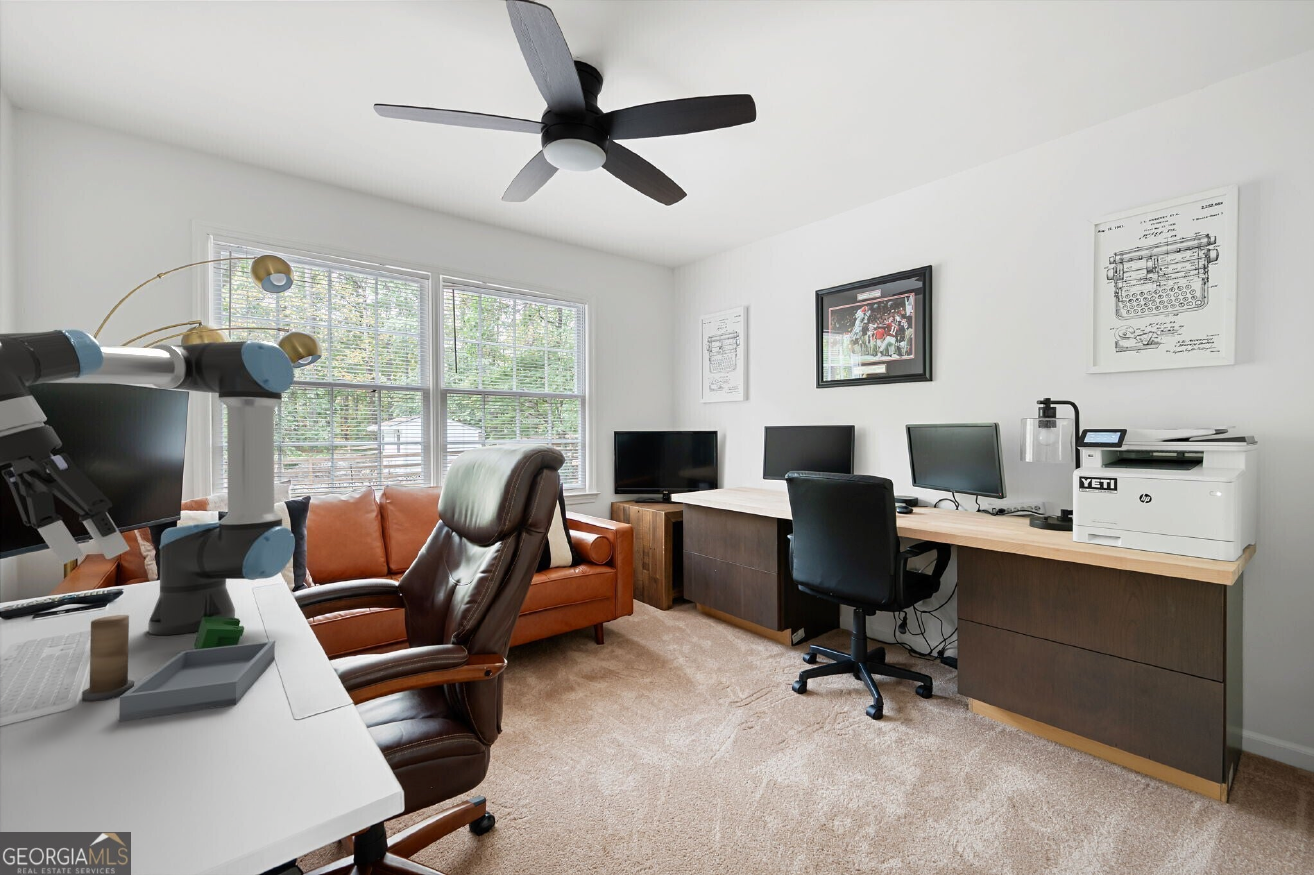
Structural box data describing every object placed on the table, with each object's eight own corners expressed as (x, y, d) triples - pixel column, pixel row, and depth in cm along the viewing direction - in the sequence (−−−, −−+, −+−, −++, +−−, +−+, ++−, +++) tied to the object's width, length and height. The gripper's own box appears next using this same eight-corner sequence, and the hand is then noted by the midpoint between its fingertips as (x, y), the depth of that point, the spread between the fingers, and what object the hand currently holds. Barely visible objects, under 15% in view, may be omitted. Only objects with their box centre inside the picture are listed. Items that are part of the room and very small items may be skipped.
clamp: (229, 675, 107) (245, 635, 106) (190, 676, 103) (206, 634, 102) (230, 636, 116) (245, 599, 115) (195, 636, 112) (210, 597, 111)
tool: (95, 689, 90) (97, 615, 91) (141, 683, 93) (143, 611, 93) (72, 704, 85) (74, 626, 85) (122, 697, 87) (123, 621, 87)
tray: (181, 670, 98) (182, 651, 98) (274, 659, 103) (274, 640, 103) (119, 721, 79) (119, 696, 79) (235, 704, 84) (236, 681, 84)
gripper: (-61, 453, 81) (25, 575, 87) (19, 427, 71) (109, 566, 77) (8, 435, 87) (83, 549, 93) (89, 409, 78) (167, 538, 84)
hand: (95, 557), depth 86 cm, fingers open, 13 cm apart
